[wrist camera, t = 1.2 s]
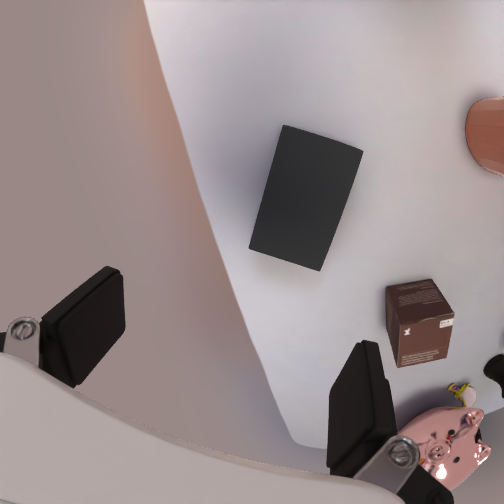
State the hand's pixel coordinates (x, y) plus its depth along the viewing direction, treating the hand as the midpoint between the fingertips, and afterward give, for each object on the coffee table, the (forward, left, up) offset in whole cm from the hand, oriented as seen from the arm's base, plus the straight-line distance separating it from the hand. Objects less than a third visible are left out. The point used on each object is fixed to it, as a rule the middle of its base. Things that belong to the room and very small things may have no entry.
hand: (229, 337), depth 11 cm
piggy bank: (+31, +30, -13) cm, 45 cm away
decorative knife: (+17, +40, -21) cm, 48 cm away
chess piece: (+12, +40, -21) cm, 47 cm away
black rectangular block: (-1, +2, -21) cm, 21 cm away
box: (+7, +18, -21) cm, 28 cm away
